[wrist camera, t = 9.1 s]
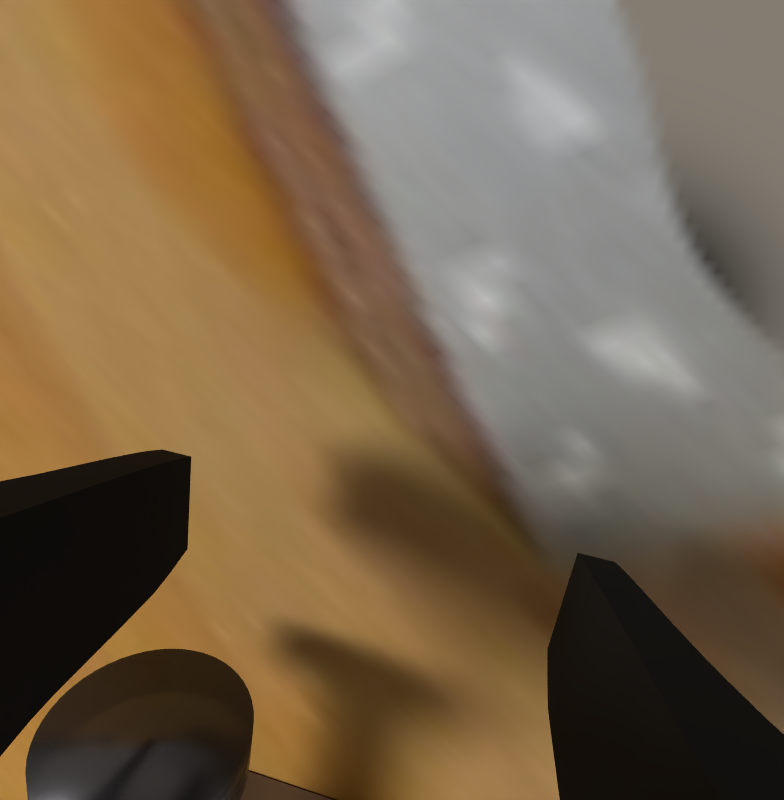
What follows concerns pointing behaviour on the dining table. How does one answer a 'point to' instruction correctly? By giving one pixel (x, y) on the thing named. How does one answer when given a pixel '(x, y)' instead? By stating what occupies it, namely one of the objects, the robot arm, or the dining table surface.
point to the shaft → (146, 733)
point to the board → (274, 790)
